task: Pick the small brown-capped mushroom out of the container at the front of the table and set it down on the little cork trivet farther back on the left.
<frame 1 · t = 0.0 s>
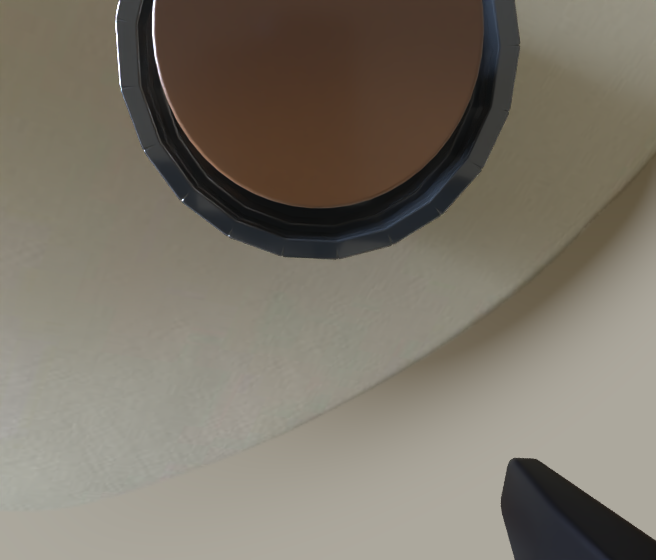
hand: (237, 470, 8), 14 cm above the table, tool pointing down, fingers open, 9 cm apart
container: (319, 89, 20), on the table
mushroom: (318, 74, 13), point 7 cm above the table, touching container
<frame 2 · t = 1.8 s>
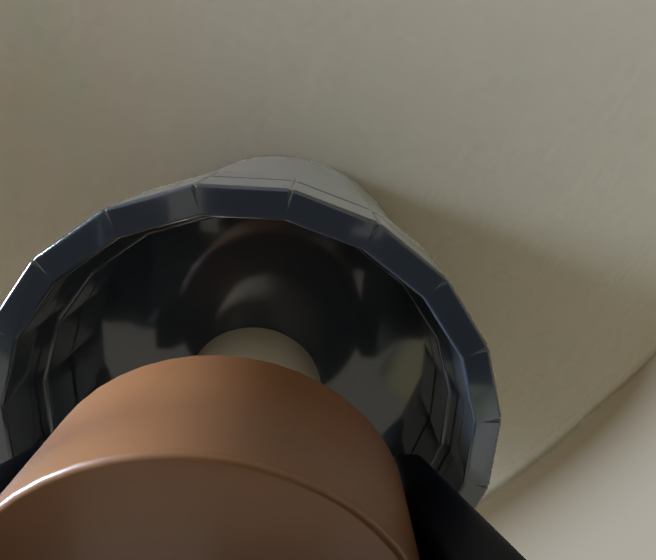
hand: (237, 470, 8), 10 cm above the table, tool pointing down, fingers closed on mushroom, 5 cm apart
container: (280, 282, 17), on the table
mushroom: (255, 386, 11), point 7 cm above the table, touching gripper, container
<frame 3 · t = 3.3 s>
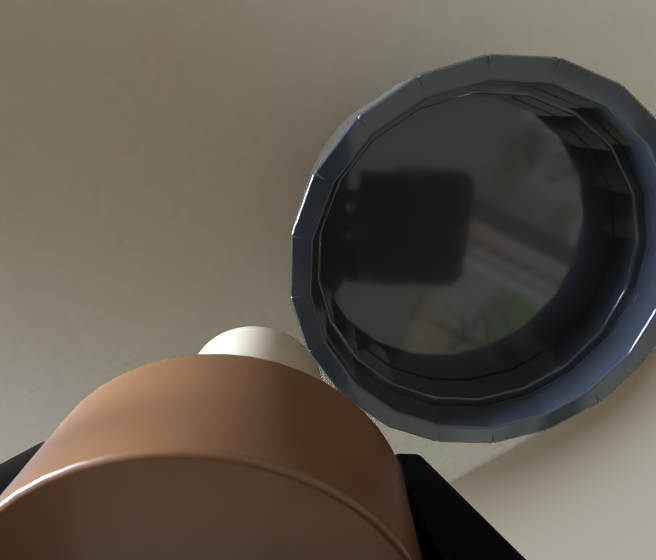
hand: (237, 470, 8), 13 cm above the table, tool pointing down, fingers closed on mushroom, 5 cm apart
container: (416, 204, 20), on the table
mushroom: (256, 385, 11), point 10 cm above the table, touching gripper
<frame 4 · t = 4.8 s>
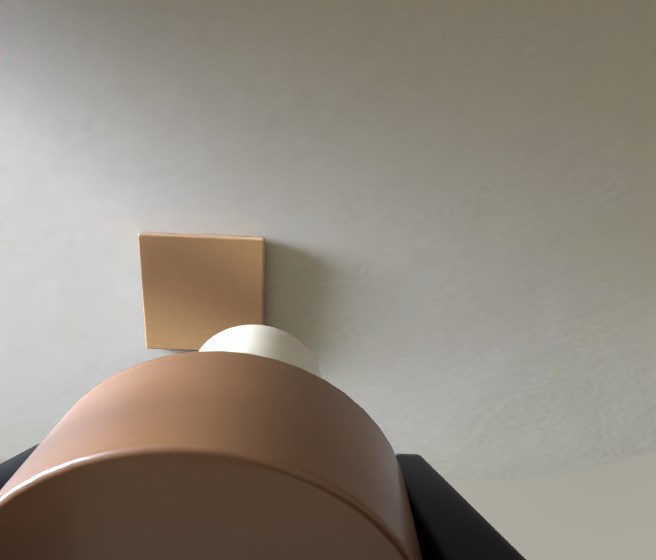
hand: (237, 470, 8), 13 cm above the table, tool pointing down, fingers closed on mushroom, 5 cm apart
trivet: (205, 292, 21), on the table
mushroom: (255, 384, 11), point 11 cm above the table, touching gripper
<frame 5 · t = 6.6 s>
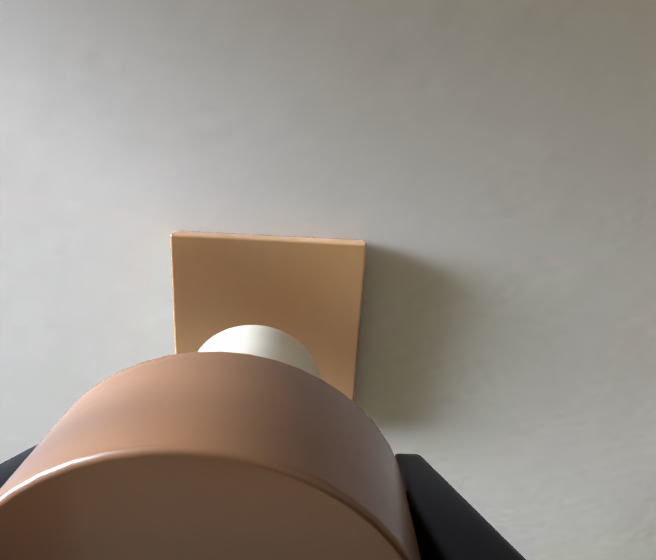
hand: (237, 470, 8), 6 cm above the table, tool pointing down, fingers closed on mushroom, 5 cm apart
trivet: (268, 322, 14), on the table
mushroom: (255, 384, 11), point 3 cm above the table, touching gripper
when the fingers open (3 cm above the table, at t = 7.9 s): mushroom stays where it is, resting on trivet.
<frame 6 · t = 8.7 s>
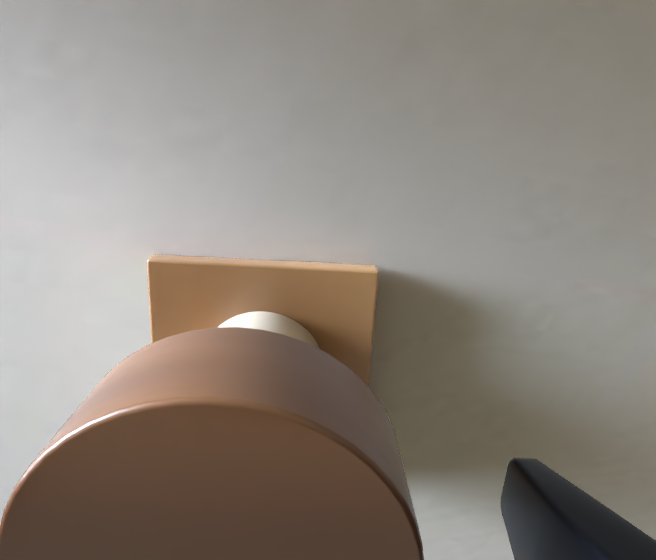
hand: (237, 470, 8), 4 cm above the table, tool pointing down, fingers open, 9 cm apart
trivet: (264, 359, 12), on the table
mushroom: (262, 367, 11), resting on trivet
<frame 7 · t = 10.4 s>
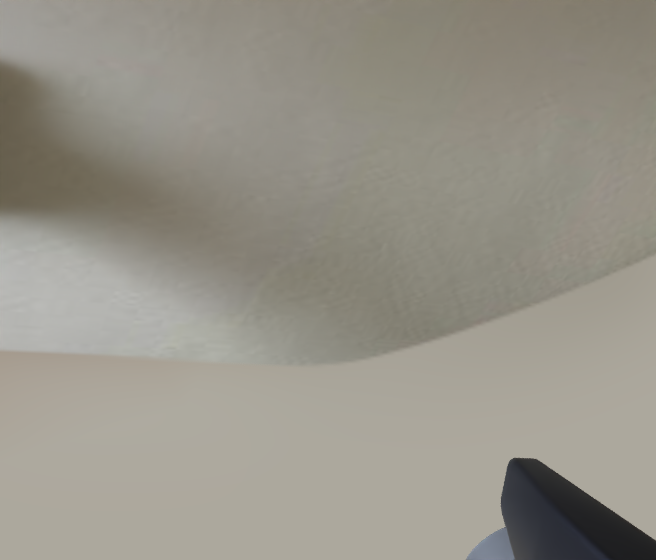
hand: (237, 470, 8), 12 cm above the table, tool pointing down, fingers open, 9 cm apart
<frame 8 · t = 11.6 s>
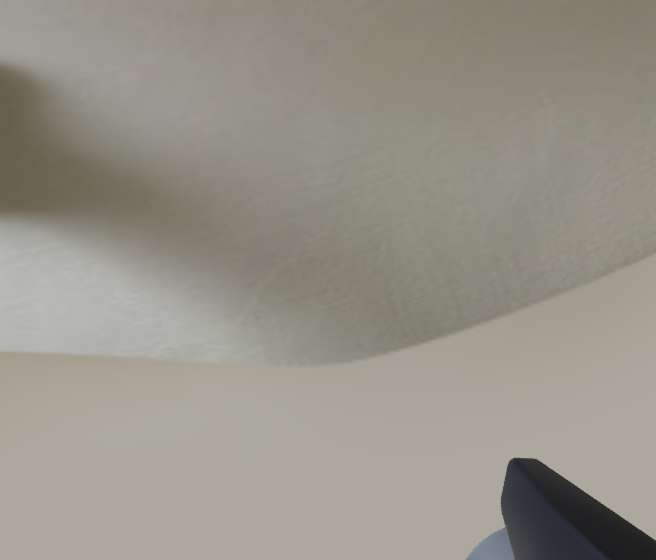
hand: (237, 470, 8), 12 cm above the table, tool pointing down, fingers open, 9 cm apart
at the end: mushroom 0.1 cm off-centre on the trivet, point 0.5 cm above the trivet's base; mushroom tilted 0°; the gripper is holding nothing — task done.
